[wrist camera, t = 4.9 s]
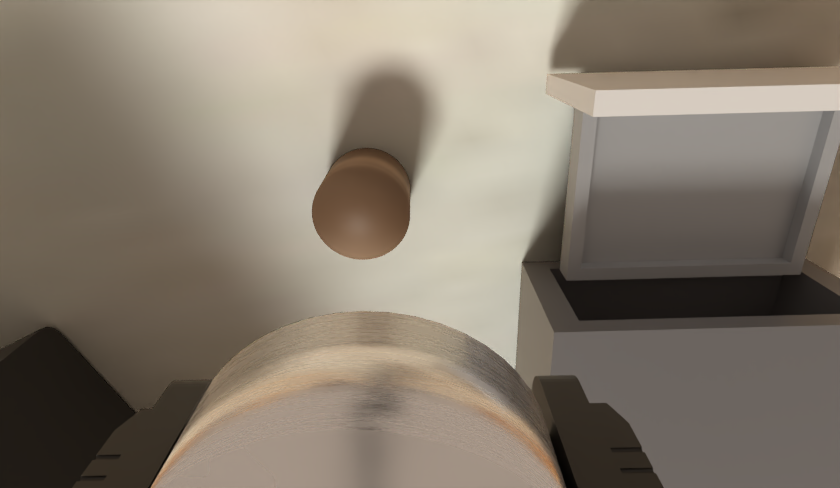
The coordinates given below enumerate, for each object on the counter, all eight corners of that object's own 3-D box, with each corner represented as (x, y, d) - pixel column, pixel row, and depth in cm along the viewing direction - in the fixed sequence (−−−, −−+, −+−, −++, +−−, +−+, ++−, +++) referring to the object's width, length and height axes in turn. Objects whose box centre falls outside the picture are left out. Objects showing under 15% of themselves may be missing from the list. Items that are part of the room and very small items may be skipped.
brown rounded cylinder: (321, 149, 23) (306, 168, 20) (409, 147, 23) (408, 166, 20) (329, 230, 25) (317, 260, 22) (411, 228, 25) (411, 258, 22)
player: (521, 262, 26) (554, 332, 20) (799, 255, 26) (915, 322, 20) (511, 444, 30) (534, 545, 24) (745, 438, 30) (825, 537, 24)
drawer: (547, 73, 21) (595, 90, 16) (861, 65, 21) (1025, 79, 16) (533, 267, 25) (569, 338, 19) (803, 260, 25) (919, 329, 19)
